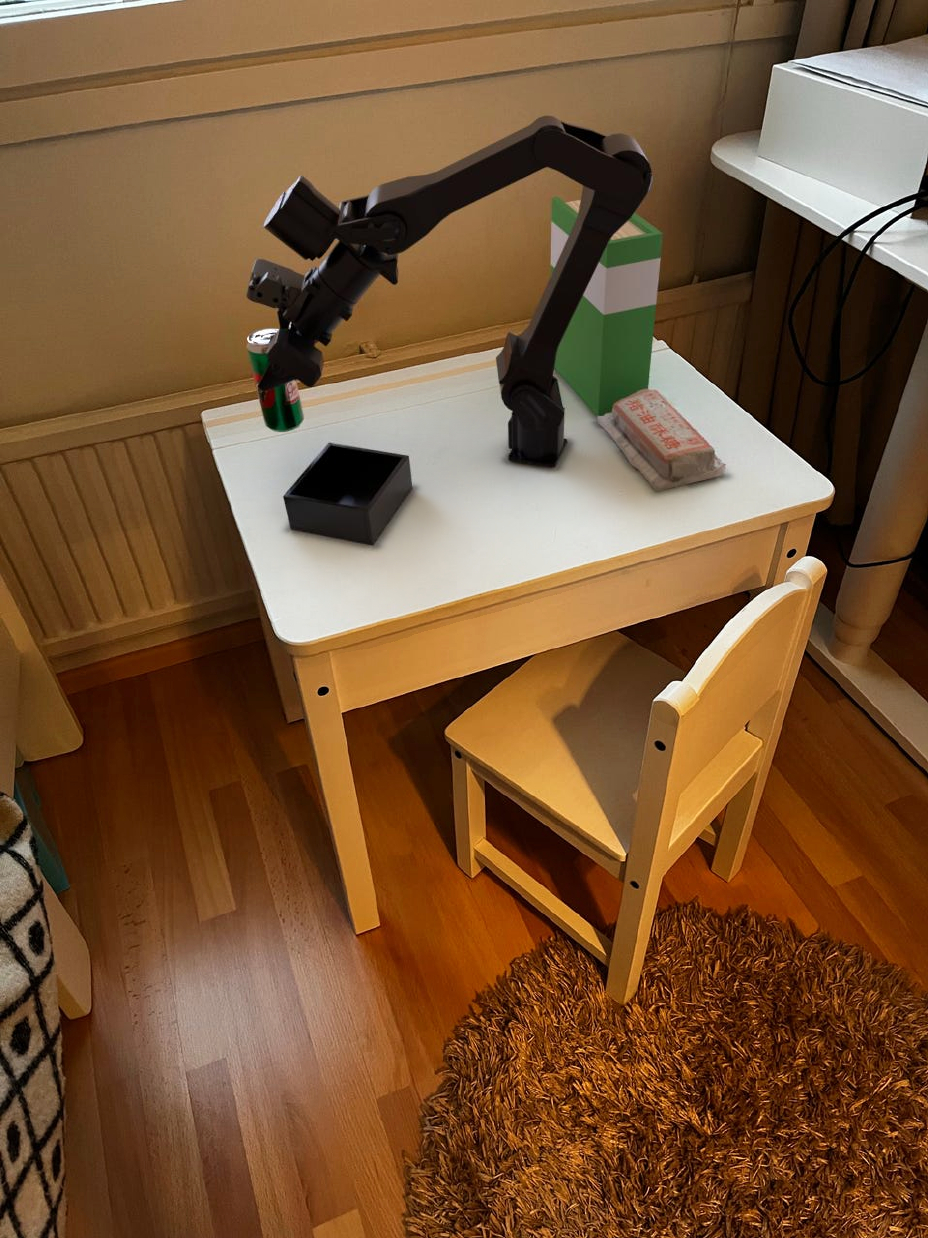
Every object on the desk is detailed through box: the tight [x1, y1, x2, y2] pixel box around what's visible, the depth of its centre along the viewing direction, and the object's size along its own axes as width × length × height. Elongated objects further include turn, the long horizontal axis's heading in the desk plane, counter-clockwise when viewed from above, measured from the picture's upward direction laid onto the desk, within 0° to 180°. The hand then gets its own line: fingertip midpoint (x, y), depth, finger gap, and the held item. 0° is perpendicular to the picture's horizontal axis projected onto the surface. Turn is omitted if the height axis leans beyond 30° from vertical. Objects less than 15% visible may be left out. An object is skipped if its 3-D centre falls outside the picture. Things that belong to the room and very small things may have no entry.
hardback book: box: [550, 196, 664, 417], centre depth 126 cm, size 18×7×24 cm, turn 19°
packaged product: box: [596, 388, 727, 491], centre depth 119 cm, size 18×5×10 cm
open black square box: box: [282, 442, 413, 547], centre depth 113 cm, size 11×12×5 cm
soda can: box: [245, 327, 305, 433], centre depth 113 cm, size 5×5×12 cm
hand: (263, 378), depth 113 cm, fingers closed on soda can, 5 cm apart
